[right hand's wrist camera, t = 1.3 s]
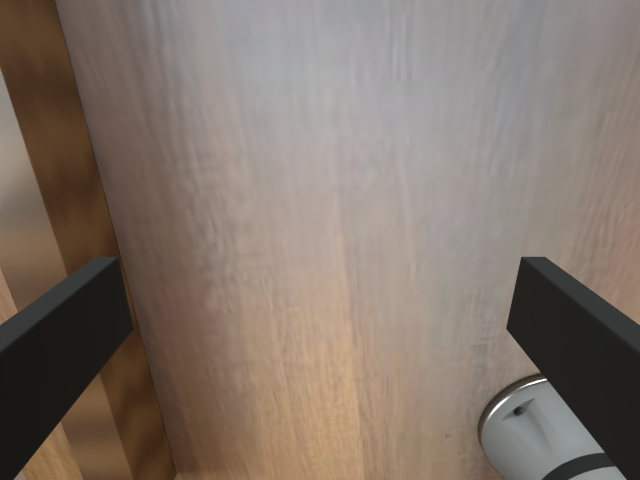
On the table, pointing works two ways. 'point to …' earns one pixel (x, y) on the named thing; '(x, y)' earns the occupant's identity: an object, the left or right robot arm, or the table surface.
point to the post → (67, 237)
